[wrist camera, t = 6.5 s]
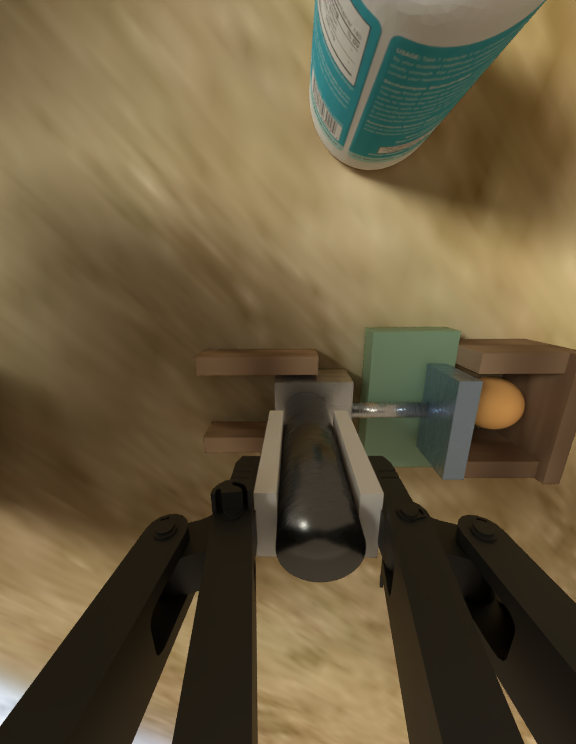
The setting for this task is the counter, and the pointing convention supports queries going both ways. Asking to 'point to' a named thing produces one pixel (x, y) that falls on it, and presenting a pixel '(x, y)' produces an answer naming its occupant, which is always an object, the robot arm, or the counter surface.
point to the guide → (249, 363)
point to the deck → (400, 385)
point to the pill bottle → (400, 69)
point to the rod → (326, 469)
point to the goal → (541, 414)
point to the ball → (499, 404)
